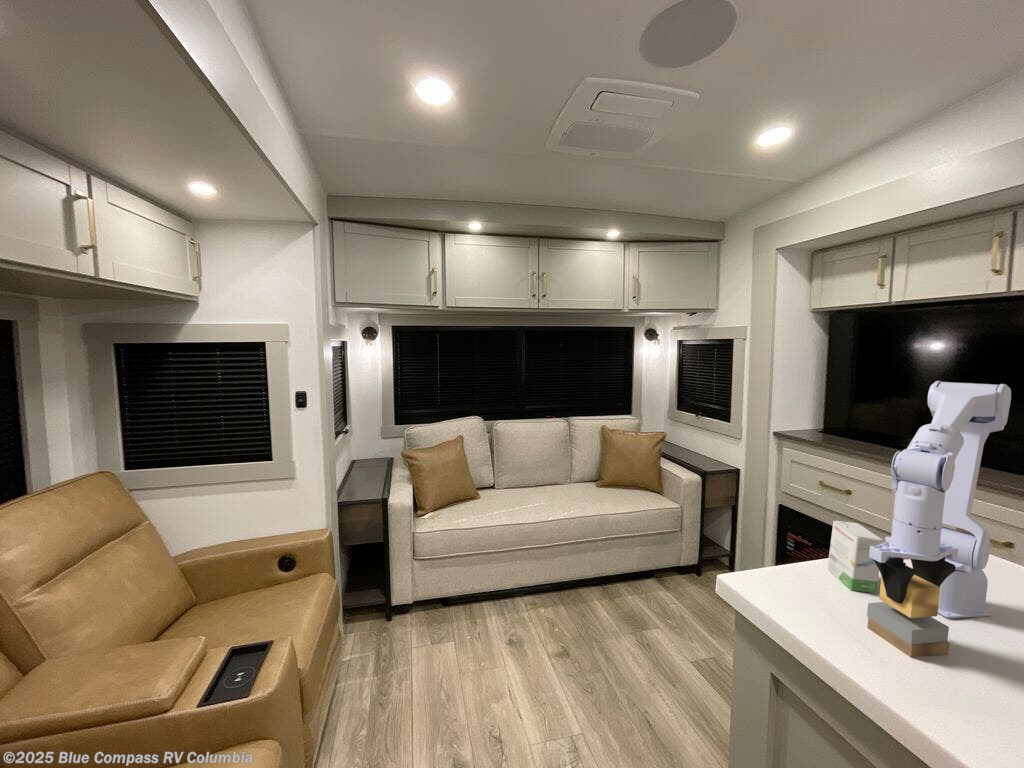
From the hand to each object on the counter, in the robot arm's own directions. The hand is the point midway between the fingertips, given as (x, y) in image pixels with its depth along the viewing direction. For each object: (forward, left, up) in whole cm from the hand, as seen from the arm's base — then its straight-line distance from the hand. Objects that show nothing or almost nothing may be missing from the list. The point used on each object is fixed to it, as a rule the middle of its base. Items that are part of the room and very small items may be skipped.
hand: (908, 599), depth 67 cm
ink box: (-8, -17, -8) cm, 20 cm away
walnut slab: (0, 0, -8) cm, 8 cm away
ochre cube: (0, 0, -2) cm, 2 cm away
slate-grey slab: (0, 0, -5) cm, 5 cm away
